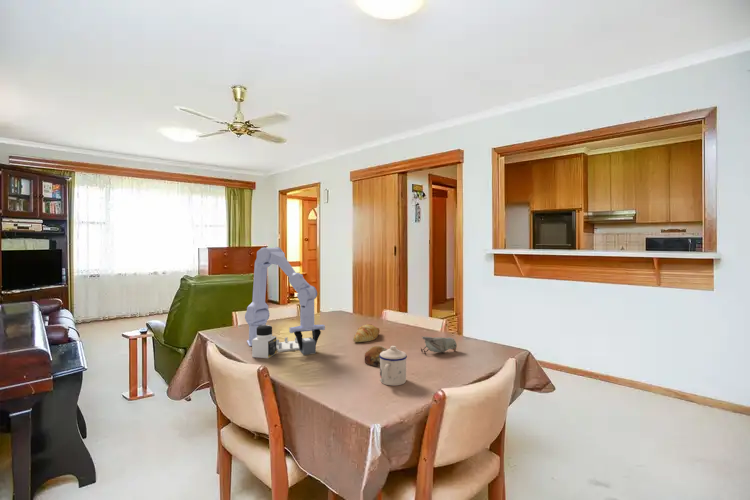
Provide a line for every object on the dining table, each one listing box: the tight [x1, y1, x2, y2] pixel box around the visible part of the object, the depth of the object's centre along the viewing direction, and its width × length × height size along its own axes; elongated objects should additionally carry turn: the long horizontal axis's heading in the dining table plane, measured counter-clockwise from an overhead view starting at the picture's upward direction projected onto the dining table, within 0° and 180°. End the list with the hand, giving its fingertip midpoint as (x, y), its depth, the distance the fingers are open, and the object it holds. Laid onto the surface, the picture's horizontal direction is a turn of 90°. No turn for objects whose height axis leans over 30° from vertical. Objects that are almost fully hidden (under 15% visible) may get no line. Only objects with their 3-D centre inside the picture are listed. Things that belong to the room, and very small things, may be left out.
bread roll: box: [364, 345, 388, 367], centre depth 150 cm, size 10×10×8 cm
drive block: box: [298, 336, 317, 356], centre depth 163 cm, size 7×5×5 cm
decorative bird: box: [420, 336, 458, 356], centre depth 163 cm, size 5×16×8 cm, turn 110°
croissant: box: [352, 323, 381, 343], centre depth 185 cm, size 21×10×8 cm, turn 150°
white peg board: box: [276, 337, 299, 353], centre depth 170 cm, size 12×11×3 cm
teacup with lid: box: [379, 345, 408, 387], centre depth 129 cm, size 12×9×12 cm
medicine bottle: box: [251, 324, 277, 359], centre depth 158 cm, size 7×7×12 cm
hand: (307, 348), depth 163 cm, fingers closed on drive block, 5 cm apart
